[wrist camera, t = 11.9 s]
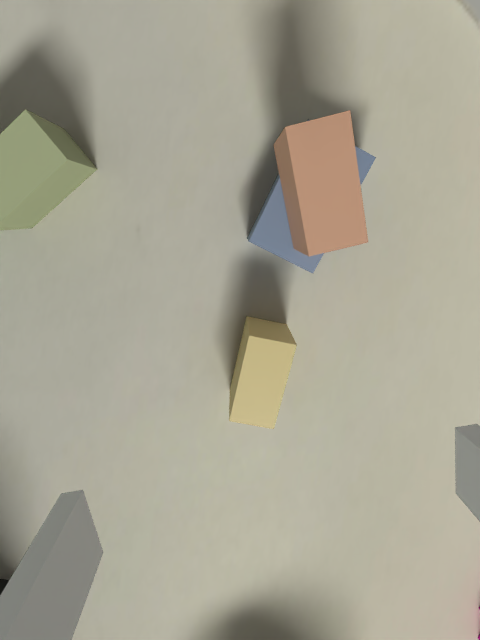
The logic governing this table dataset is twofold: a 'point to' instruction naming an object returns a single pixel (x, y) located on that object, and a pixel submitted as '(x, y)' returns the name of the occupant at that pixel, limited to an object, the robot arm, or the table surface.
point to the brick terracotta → (321, 184)
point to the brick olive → (37, 170)
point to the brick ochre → (261, 372)
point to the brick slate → (275, 227)
